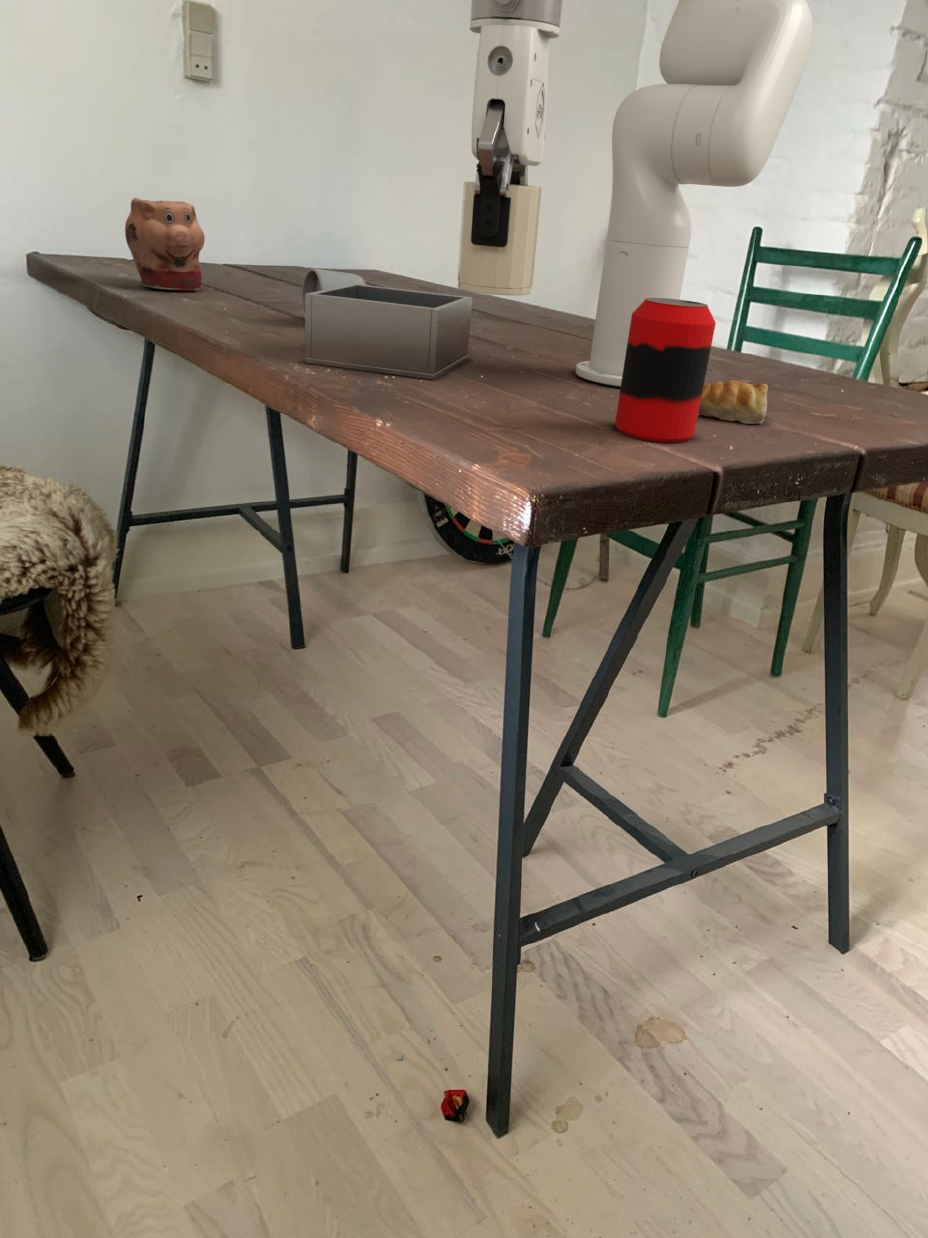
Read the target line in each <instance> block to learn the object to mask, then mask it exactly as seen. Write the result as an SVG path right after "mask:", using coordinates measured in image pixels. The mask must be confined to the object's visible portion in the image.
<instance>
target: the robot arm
mask: <svg viewBox="0 0 928 1238" xmlns="http://www.w3.org/2000/svg"><path fill="white" fill-rule="evenodd" d="M562 8H563V0H471V5H470V23H469V31H471V32H472V33H475V34H479V41H478V50H477V53H476V57H477V59H476V66H475V67H476V69H475V79H474V88H473V89H474V91H473V104H472V105H473V106H472V114H471V115H472V117H471V141H470V143H471V153H472V155H473V157H474V158H475V159H476V160H477V161H478V162H477V163H476V167H475V168H477V169H476V175H475V180H474V182H475V187H474V192H475V195H474V200H473V215H472V231H471V242H472V244H474V245H482V246H493V247H505V246H506V245H507V242H508V230H509V218H510V206H511V197H507V195H508V189H509V184H515V185H526V186H529V184H528V183H529V167H530V166H531V167H538V166H539V165H540V164H542V163H543V160H544V156H545V141H546V127H547V125H546V124H547V111H548V110H547V109H548V108H547V107H548V93H549V92H548V91H549V71H550V70H549V69H550V68H549V67H550V64H549V63H550V44H549V43H550V42H549V40H553V39H557V38H559V37H560V32H561V31H560V30H561V29H560V28H561V19H562ZM812 40H813V16H812V12H811V8H810V7H809V3H808V2H807V1H806V0H678V2H677V4H676V7H675V9H674V12H673V14H672V17H671V19H670V22H669V23H668V27H667V29H666V32H665V35H664V37H663V40H662V44H661V47H660V51H659V59H658V60H659V61H658V65H659V72H660V74H661V76H662V79H663V81H664V82H665V83H660V84H659V83H658V84H652V85H647V86H643V87H640V88H638V89H635V90H633V91H632V92H630V93H629V94H628V95H627V96H626V97H625V98H624V99H623V100H622V101H621V103H619V106H618V108H617V109H616V112H615V115H614V118H613V123H612V130H611V158H612V159H611V160H612V161H611V162H612V182H611V183H612V184H611V185H612V186H611V201H610V210H609V218H608V225H607V234H606V240H605V248H604V256H603V257H604V258H603V262H602V270H601V276H600V284H599V291H598V298H597V306H596V311H595V312H596V313H595V320H594V328H593V335H592V342H591V348H590V356H589V360H585V361H584V360H583V361H580V362H578V363H576V365H575V374H576V375H577V377H578V378H579V377H580V378H581V379H584V380H587V381H590V382H592V383H593V382H594V383H597V384H601V385H607V386H613V387H618V388H621V381H622V375H623V368H624V362H625V355H626V349H627V342H628V336H629V330H630V323H631V317H632V313H633V312H634V311H635V310H636V309H637V308H638V307H639V306H640V305H641V304H642V302H643V301H644V300H645V298H668V299H678V300H681V294H682V289H683V282H684V277H685V271H686V265H687V260H688V253H689V249H690V243H691V236H692V221H691V215H690V213H689V208H688V207H687V204H686V202H685V200H684V197H683V195H682V193H681V189H680V186H679V185H699V186H711V187H724V188H725V187H726V188H736V187H738V188H739V187H742V186H746V185H748V184H750V183H751V182H753V181H754V180H755V179H757V177H758V176H759V175H760V173H761V172H762V170H763V169H764V167H765V166H766V163H767V162H768V160H769V158H770V155H771V153H772V151H773V149H774V146H775V144H776V141H777V139H778V137H779V134H780V132H781V129H782V127H783V124H784V123H785V120H786V117H787V115H788V113H789V110H790V108H791V105H792V103H793V101H794V98H795V96H796V93H797V91H798V88H799V86H800V84H801V81H802V78H803V75H804V73H805V70H806V68H807V64H808V60H809V56H810V54H811V53H810V52H811V48H812Z"/></svg>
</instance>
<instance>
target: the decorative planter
mask: <svg viewBox="0 0 928 1238" xmlns="http://www.w3.org/2000/svg"><path fill="white" fill-rule="evenodd" d="M124 236H125V241H126V244H127V247H128V248H129V251H130V253H131V256H132V260H133V262H134V264H135V267H136V270H137V272H138V274H139V276H140V280H141V284H142V285H143V287H148V288H151V289H158V290H169V291H199V290H200V289H201V286H202V281H203V280H202V272H201V271H202V270H201V266H200V253H201V251H202V250H203V248H204V245H205V241H206V239H205V238H206V237H205V233H204V230H203V229H202V227H201V226H200V224H199V221H198V219H197V214H196V210H195V207H194V205H193V204H191V203H188V202H185V201H173V200H148V199H142V198H139V197H133V198H132V199H131V201H130V212H129V215H128V216H127V218H126V221H125V226H124Z"/></svg>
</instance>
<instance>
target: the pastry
mask: <svg viewBox="0 0 928 1238" xmlns="http://www.w3.org/2000/svg"><path fill="white" fill-rule="evenodd" d="M768 391H769V386H768V384H767V383H762V382H759V383H757V384H752V383H748V382H743V381H738V380H733V379H732V380H731V379H730V380H728V381H721V380H718V381H715V382H709V383H704V386H703V392H702V397H701V402H700V407H699V412H698V416H705V417H707V418H716V419H719V420H723V421H730V422H734V421H739V422H740V423H741V424H750V425H752V424H753V425H754V424H755V425H756V424H763V422H764V420H765V417H766V415H767V409H768Z"/></svg>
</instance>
